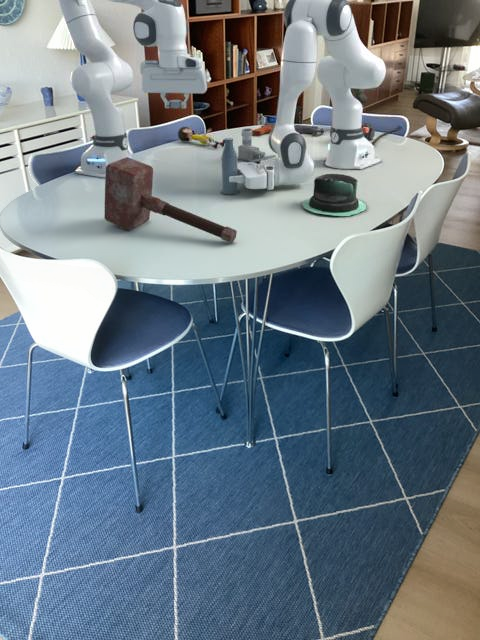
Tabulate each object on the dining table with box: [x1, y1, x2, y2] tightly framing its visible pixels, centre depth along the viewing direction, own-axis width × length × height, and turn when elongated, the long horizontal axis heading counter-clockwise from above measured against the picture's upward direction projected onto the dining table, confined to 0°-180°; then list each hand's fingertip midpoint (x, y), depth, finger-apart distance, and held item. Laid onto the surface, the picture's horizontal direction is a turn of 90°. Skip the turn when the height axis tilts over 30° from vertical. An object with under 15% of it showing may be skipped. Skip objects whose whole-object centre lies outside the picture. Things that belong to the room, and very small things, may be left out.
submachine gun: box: [252, 122, 325, 137], centre depth 263 cm, size 32×3×25 cm
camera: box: [237, 127, 277, 163], centre depth 222 cm, size 9×12×15 cm
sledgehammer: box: [103, 157, 238, 244], centre depth 155 cm, size 17×10×40 cm
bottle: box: [220, 137, 239, 195], centre depth 186 cm, size 5×5×18 cm
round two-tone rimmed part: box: [301, 173, 367, 217], centre depth 174 cm, size 15×19×20 cm
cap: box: [168, 99, 183, 109], centre depth 176 cm, size 4×4×2 cm
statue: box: [350, 88, 368, 108], centre depth 262 cm, size 11×9×30 cm
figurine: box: [177, 126, 225, 150], centre depth 251 cm, size 13×8×25 cm
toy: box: [361, 122, 376, 142], centre depth 244 cm, size 9×9×15 cm
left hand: (175, 107), depth 177 cm, fingers closed on cap, 4 cm apart
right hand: (227, 176), depth 187 cm, fingers closed on bottle, 5 cm apart
